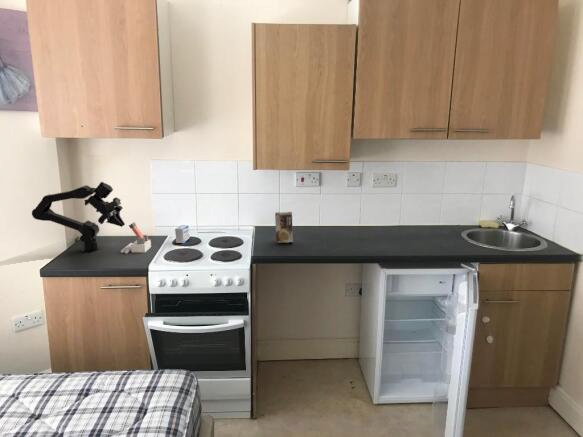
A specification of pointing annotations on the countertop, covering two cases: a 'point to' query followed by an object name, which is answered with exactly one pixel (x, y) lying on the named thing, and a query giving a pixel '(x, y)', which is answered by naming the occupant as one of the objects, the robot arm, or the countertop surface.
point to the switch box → (141, 244)
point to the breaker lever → (136, 230)
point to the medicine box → (182, 234)
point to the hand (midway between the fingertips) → (123, 225)
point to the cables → (126, 249)
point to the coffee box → (284, 227)
